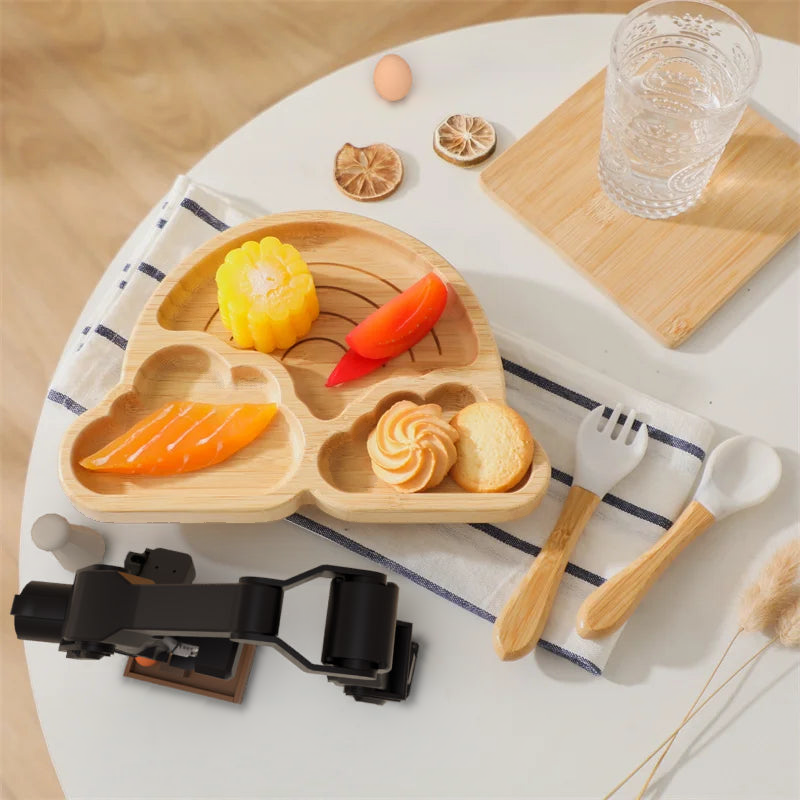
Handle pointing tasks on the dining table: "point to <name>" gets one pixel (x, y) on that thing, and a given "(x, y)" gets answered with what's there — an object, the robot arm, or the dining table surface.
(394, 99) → the egg
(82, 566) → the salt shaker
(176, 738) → the dining table surface
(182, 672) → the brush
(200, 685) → the tray
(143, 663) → the ball
